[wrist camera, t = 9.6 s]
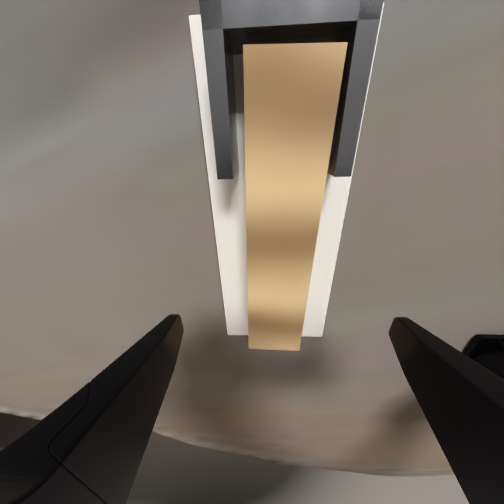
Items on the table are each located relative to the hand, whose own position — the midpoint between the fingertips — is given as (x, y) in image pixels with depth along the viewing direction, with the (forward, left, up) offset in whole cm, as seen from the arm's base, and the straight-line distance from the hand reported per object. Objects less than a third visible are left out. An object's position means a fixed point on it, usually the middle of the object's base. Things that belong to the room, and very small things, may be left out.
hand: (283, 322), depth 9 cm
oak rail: (+1, 0, -8) cm, 8 cm away
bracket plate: (+1, 0, -9) cm, 9 cm away
